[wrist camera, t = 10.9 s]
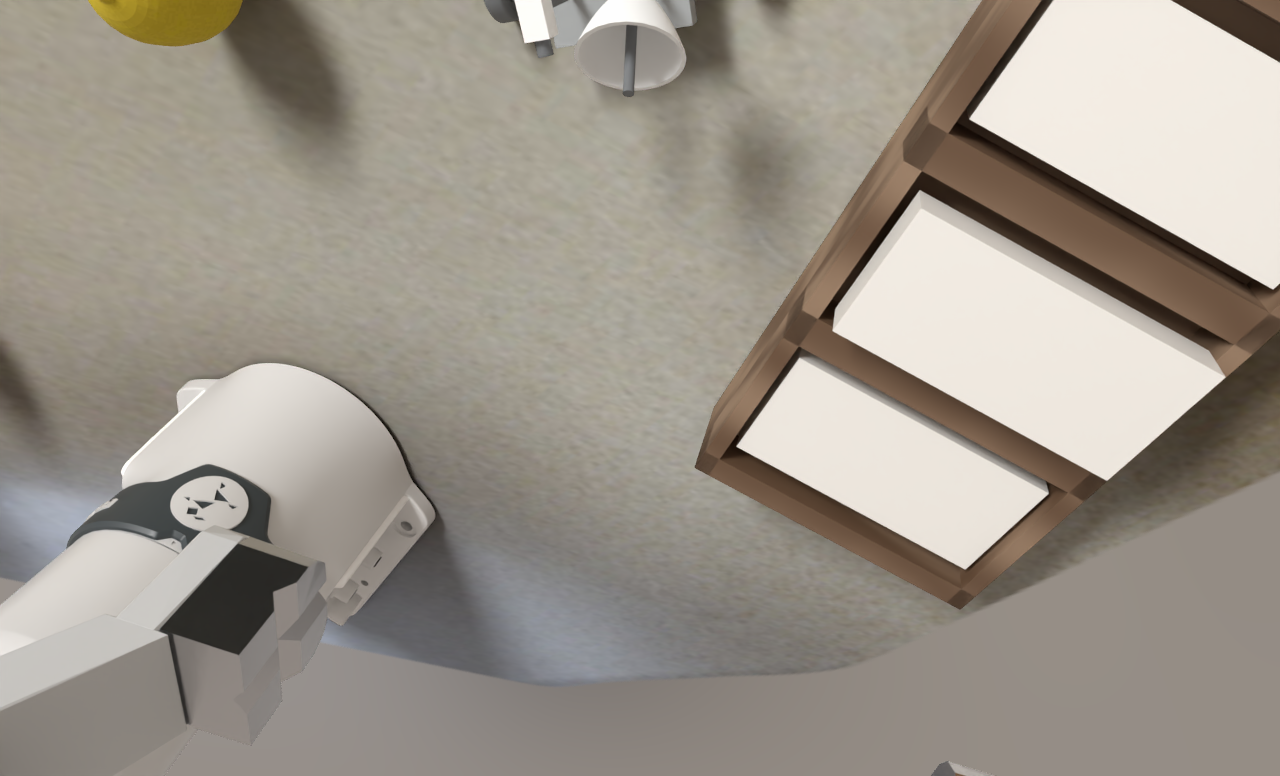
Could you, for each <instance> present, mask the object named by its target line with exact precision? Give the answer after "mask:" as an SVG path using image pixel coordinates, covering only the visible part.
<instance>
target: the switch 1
mask: <svg viewBox="0 0 1280 776" xmlns="http://www.w3.org/2000/svg"><path fill="white" fill-rule="evenodd" d="M736 447H738V448H740V449H742V450H743V451H745V452H747V453H749V454H751V455H753V456H755V457H756V458H758V459H760V460H762V461H764V462H766V463H768V464H770V465H771V466H773V467H775V468H777V469H779V470H781V471H783V472H784V473H786V474H788V475H790V476H792V477H794V478H796V479H797V480H799V481H801V482H803V483H805V484H807V485H809V486H810V487H812V488H814V489H816V490H818V491H820V492H822V493H824V494H825V495H827V496H829V497H831V498H833V499H835V500H837V501H838V502H840V503H842V504H844V505H846V506H848V507H850V508H851V509H853V510H855V511H857V512H859V513H861V514H863V515H865V516H866V517H868V518H870V519H872V520H874V521H876V522H878V523H879V524H881V525H883V526H885V527H887V528H889V529H891V530H892V531H894V532H896V533H898V534H900V535H902V536H904V537H905V538H907V539H909V540H911V541H913V542H915V543H917V544H919V545H920V546H922V547H924V548H926V549H928V550H930V551H932V552H933V553H935V554H937V555H939V556H941V557H943V558H945V559H946V560H948V561H950V562H952V563H954V564H956V565H958V566H959V567H961V568H963V569H967V568H968V567H969V566H970V565H971V564H972V563H973V562H974V561H975V560H976V559H978V558H979V557H980V556H981V555H982V554H983V553H984V552H985V551H986V550H987V549H989V548H990V547H991V546H992V545H993V544H994V543H995V542H996V541H997V540H998V539H999V538H1001V537H1002V536H1003V535H1004V534H1005V533H1006V532H1007V531H1008V530H1009V529H1010V528H1012V527H1013V526H1014V525H1015V524H1016V523H1017V522H1018V521H1019V520H1020V519H1021V518H1022V517H1024V516H1025V515H1026V514H1027V513H1028V512H1029V511H1030V510H1031V509H1032V508H1033V507H1035V506H1036V505H1037V504H1038V503H1039V502H1040V501H1041V500H1042V499H1043V498H1044V497H1045V496H1047V495H1048V494H1049V492H1048V488H1047V484H1046V481H1045V480H1044V479H1042V478H1040V477H1038V476H1036V475H1034V474H1033V473H1031V472H1029V471H1027V470H1025V469H1023V468H1021V467H1020V466H1018V465H1016V464H1014V463H1012V462H1010V461H1009V460H1007V459H1005V458H1003V457H1001V456H999V455H998V454H996V453H994V452H992V451H990V450H988V449H987V448H985V447H983V446H981V445H979V444H977V443H976V442H974V441H972V440H970V439H968V438H966V437H964V436H963V435H961V434H959V433H957V432H955V431H953V430H952V429H950V428H948V427H946V426H944V425H942V424H941V423H939V422H937V421H935V420H933V419H931V418H930V417H928V416H926V415H924V414H922V413H920V412H919V411H917V410H915V409H913V408H911V407H909V406H908V405H906V404H904V403H902V402H900V401H898V400H896V399H895V398H893V397H891V396H889V395H887V394H885V393H884V392H882V391H880V390H878V389H876V388H874V387H873V386H871V385H869V384H867V383H865V382H863V381H862V380H860V379H858V378H856V377H854V376H852V375H851V374H849V373H847V372H845V371H843V370H841V369H839V368H838V367H836V366H834V365H832V364H830V363H828V362H827V361H825V360H823V359H821V358H819V357H817V356H816V355H814V354H812V353H810V352H808V351H806V350H805V349H803V348H801V347H798V348H797V350H796V351H795V353H794V354H793V355H792V357H791V358H790V360H789V361H788V362H787V364H786V365H785V367H784V368H783V370H782V371H781V372H780V374H779V375H778V377H777V378H776V380H775V381H774V382H773V384H772V385H771V387H770V388H769V390H768V391H767V392H766V394H765V395H764V397H763V398H762V400H761V401H760V402H759V404H758V405H757V407H756V408H755V410H754V411H753V412H752V414H751V415H750V417H749V418H748V419H747V421H746V422H745V424H744V425H743V427H742V428H741V431H740V435H739V438H738V442H737V446H736Z"/></svg>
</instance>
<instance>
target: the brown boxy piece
mask: <svg viewBox="0 0 1280 776" xmlns="http://www.w3.org/2000/svg"><path fill="white" fill-rule="evenodd" d="M1171 1H1173V2H1175V3H1176V4H1178V5H1180V6H1182V7H1183V8H1185V9H1187V10H1189V11H1190V12H1192V13H1194V14H1196V15H1197V16H1199V17H1201V18H1203V19H1204V20H1206V21H1208V22H1210V23H1211V24H1213V25H1215V26H1217V27H1218V28H1220V29H1222V30H1224V31H1225V32H1227V33H1229V34H1231V35H1232V36H1234V37H1236V38H1238V39H1239V40H1241V41H1243V42H1245V43H1246V44H1248V45H1250V46H1252V47H1253V48H1255V49H1257V50H1259V51H1260V52H1262V53H1264V54H1266V55H1267V56H1269V57H1271V58H1273V59H1274V60H1276V61H1278V62H1279V63H1280V0H1171ZM1040 2H1041V0H982V2H981V3H980V5H979V6H978V8H977V9H976V11H975V12H974V14H973V15H972V17H971V18H970V20H969V21H968V23H967V24H966V26H965V27H964V29H963V30H962V32H961V33H960V35H959V36H958V38H957V39H956V41H955V43H954V44H953V46H952V47H951V49H950V50H949V52H948V53H947V55H946V56H945V58H944V59H943V61H942V62H941V64H940V65H939V67H938V68H937V70H936V71H935V73H934V74H933V76H932V77H931V79H930V80H929V82H928V83H927V85H926V87H925V88H924V90H923V91H922V93H921V94H920V96H919V97H918V99H917V100H916V102H915V103H914V105H913V106H912V108H911V109H910V111H909V112H908V114H907V115H906V117H905V118H904V120H903V121H902V123H901V124H900V126H899V128H898V129H897V131H896V132H895V134H894V135H893V137H892V138H891V140H890V141H889V143H888V144H887V146H886V147H885V149H884V150H883V152H882V153H881V155H880V156H879V158H878V159H877V161H876V162H875V164H874V165H873V167H872V168H871V170H870V172H869V173H868V175H867V176H866V178H865V179H864V181H863V182H862V184H861V185H860V187H859V188H858V190H857V191H856V193H855V194H854V196H853V197H852V199H851V200H850V202H849V203H848V205H847V206H846V208H845V209H844V211H843V212H842V214H841V216H840V217H839V219H838V220H837V222H836V223H835V225H834V226H833V228H832V229H831V231H830V232H829V234H828V235H827V237H826V238H825V240H824V241H823V243H822V244H821V246H820V247H819V249H818V250H817V252H816V253H815V255H814V256H813V258H812V260H811V261H810V263H809V264H808V266H807V267H806V269H805V270H804V272H803V273H802V275H801V276H800V278H799V279H798V281H797V282H796V284H795V285H794V287H793V288H792V290H791V291H790V293H789V294H788V296H787V297H786V299H785V300H784V302H783V304H782V305H781V307H780V308H779V310H778V311H777V313H776V314H775V316H774V317H773V319H772V320H771V322H770V323H769V325H768V326H767V328H766V329H765V331H764V332H763V334H762V335H761V337H760V338H759V340H758V341H757V343H756V344H755V346H754V348H753V349H752V351H751V352H750V354H749V355H748V357H747V358H746V360H745V361H744V363H743V364H742V366H741V367H740V369H739V370H738V372H737V373H736V375H735V376H734V378H733V379H732V381H731V382H730V384H729V385H728V387H727V388H726V390H725V392H724V393H723V395H722V396H721V398H720V399H719V401H718V402H717V404H716V405H715V407H714V409H713V412H712V415H711V418H710V421H709V424H708V427H707V430H706V434H705V437H704V440H703V443H702V446H701V449H700V452H699V455H698V458H697V461H696V465H695V468H696V469H698V470H700V471H702V472H704V473H705V474H707V475H709V476H711V477H713V478H715V479H717V480H719V481H720V482H722V483H724V484H726V485H728V486H730V487H732V488H734V489H735V490H737V491H739V492H741V493H743V494H745V495H747V496H749V497H750V498H752V499H754V500H756V501H758V502H760V503H762V504H763V505H765V506H767V507H769V508H771V509H773V510H775V511H777V512H778V513H780V514H782V515H784V516H786V517H788V518H790V519H792V520H793V521H795V522H797V523H799V524H801V525H803V526H805V527H806V528H808V529H810V530H812V531H814V532H816V533H818V534H820V535H821V536H823V537H825V538H827V539H829V540H831V541H833V542H835V543H836V544H838V545H840V546H842V547H844V548H846V549H848V550H849V551H851V552H853V553H855V554H857V555H859V556H861V557H863V558H864V559H866V560H868V561H870V562H872V563H874V564H876V565H878V566H879V567H881V568H883V569H885V570H887V571H889V572H891V573H892V574H894V575H896V576H898V577H900V578H902V579H904V580H906V581H907V582H909V583H911V584H913V585H915V586H917V587H919V588H921V589H922V590H924V591H926V592H928V593H930V594H932V595H934V596H935V597H937V598H939V599H941V600H943V601H945V602H947V603H949V604H950V605H952V606H954V607H956V608H958V609H962V608H963V607H964V606H965V605H966V604H967V603H968V602H970V601H971V600H972V599H973V598H974V597H975V596H976V595H978V594H979V593H980V592H981V591H982V590H983V589H984V588H986V587H987V586H988V585H989V584H990V583H991V582H992V581H994V580H995V579H996V578H997V577H998V576H999V575H1000V574H1002V573H1003V572H1004V571H1005V570H1006V569H1007V568H1008V567H1010V566H1011V565H1012V564H1013V563H1014V562H1015V561H1016V560H1018V559H1019V558H1020V557H1021V556H1022V555H1023V554H1024V553H1026V552H1027V551H1028V550H1029V549H1030V548H1031V547H1033V546H1034V545H1035V544H1036V543H1037V542H1038V541H1039V540H1041V539H1042V538H1043V537H1044V536H1045V535H1046V534H1047V533H1049V532H1050V531H1051V530H1052V529H1053V528H1054V527H1055V526H1057V525H1058V524H1059V523H1060V522H1061V521H1062V520H1063V519H1065V518H1066V517H1067V516H1068V515H1069V514H1070V513H1071V512H1073V511H1074V510H1075V509H1076V508H1077V507H1078V506H1079V505H1081V504H1082V503H1083V502H1084V501H1085V500H1086V499H1087V498H1089V497H1090V496H1091V495H1092V494H1093V493H1094V492H1095V491H1097V490H1098V489H1099V488H1100V487H1101V486H1102V485H1103V484H1105V483H1106V482H1107V481H1106V480H1104V479H1103V478H1101V477H1099V476H1097V475H1095V474H1093V473H1092V472H1090V471H1088V470H1086V469H1084V468H1082V467H1081V466H1079V465H1077V464H1075V463H1073V462H1071V461H1070V460H1068V459H1066V458H1064V457H1062V456H1060V455H1059V454H1057V453H1055V452H1053V451H1051V450H1049V449H1048V448H1046V447H1044V446H1042V445H1040V444H1038V443H1037V442H1035V441H1033V440H1031V439H1029V438H1027V437H1026V436H1024V435H1022V434H1020V433H1018V432H1016V431H1015V430H1013V429H1011V428H1009V427H1007V426H1006V425H1004V424H1002V423H1000V422H998V421H996V420H995V419H993V418H991V417H989V416H987V415H985V414H984V413H982V412H980V411H978V410H976V409H974V408H973V407H971V406H969V405H967V404H965V403H963V402H962V401H960V400H958V399H956V398H954V397H952V396H951V395H949V394H947V393H945V392H943V391H941V390H940V389H938V388H936V387H934V386H932V385H930V384H929V383H927V382H925V381H923V380H921V379H919V378H918V377H916V376H914V375H912V374H910V373H908V372H907V371H905V370H903V369H901V368H899V367H897V366H896V365H894V364H892V363H890V362H888V361H886V360H885V359H883V358H881V357H879V356H877V355H875V354H874V353H872V352H870V351H868V350H866V349H864V348H863V347H861V346H859V345H857V344H855V343H853V342H852V341H850V340H848V339H846V338H844V337H842V336H841V335H839V334H837V333H835V332H833V331H832V330H833V323H834V315H835V309H836V307H837V306H838V304H839V303H840V302H841V300H842V299H843V297H844V296H845V294H846V293H847V292H848V290H849V289H850V287H851V286H852V285H853V283H854V282H855V280H856V279H857V278H858V276H859V275H860V273H861V272H862V271H863V269H864V268H865V266H866V265H867V264H868V262H869V261H870V259H871V258H872V257H873V255H874V254H875V252H876V251H877V249H878V248H879V247H880V245H881V244H882V242H883V241H884V240H885V238H886V237H887V235H888V234H889V233H890V231H891V230H892V228H893V227H894V226H895V224H896V223H897V221H898V220H899V219H900V217H901V216H902V214H903V213H904V212H905V210H906V209H907V207H908V206H909V204H910V203H911V202H912V200H913V199H914V197H915V196H916V195H917V193H918V192H919V190H921V191H922V192H924V193H926V194H928V195H930V196H931V197H933V198H935V199H937V200H939V201H940V202H942V203H944V204H946V205H948V206H949V207H951V208H953V209H955V210H957V211H958V212H960V213H962V214H964V215H966V216H967V217H969V218H971V219H973V220H975V221H976V222H978V223H980V224H982V225H984V226H985V227H987V228H989V229H991V230H993V231H994V232H996V233H998V234H1000V235H1002V236H1003V237H1005V238H1007V239H1009V240H1011V241H1012V242H1014V243H1016V244H1018V245H1020V246H1021V247H1023V248H1025V249H1027V250H1029V251H1030V252H1032V253H1034V254H1036V255H1038V256H1039V257H1041V258H1043V259H1045V260H1047V261H1048V262H1050V263H1052V264H1054V265H1056V266H1057V267H1059V268H1061V269H1063V270H1065V271H1066V272H1068V273H1070V274H1072V275H1074V276H1075V277H1077V278H1079V279H1081V280H1083V281H1084V282H1086V283H1088V284H1090V285H1092V286H1093V287H1095V288H1097V289H1099V290H1101V291H1102V292H1104V293H1106V294H1108V295H1110V296H1111V297H1113V298H1115V299H1117V300H1119V301H1120V302H1122V303H1124V304H1126V305H1128V306H1130V307H1131V308H1133V309H1135V310H1137V311H1139V312H1140V313H1142V314H1144V315H1146V316H1148V317H1149V318H1151V319H1153V320H1155V321H1157V322H1158V323H1160V324H1162V325H1164V326H1166V327H1167V328H1169V329H1171V330H1173V331H1175V332H1176V333H1178V334H1180V335H1182V336H1184V337H1185V338H1187V339H1189V340H1191V341H1193V342H1194V343H1196V344H1198V345H1200V346H1202V347H1203V348H1205V349H1207V350H1209V351H1210V353H1211V355H1212V356H1213V358H1214V359H1215V361H1216V363H1217V364H1218V366H1219V367H1220V369H1221V370H1222V372H1223V374H1224V375H1225V378H1226V377H1227V376H1228V375H1229V374H1231V373H1232V372H1233V371H1234V370H1235V369H1236V368H1237V367H1239V366H1240V365H1241V364H1242V363H1243V362H1244V361H1245V360H1247V359H1248V358H1249V357H1250V356H1251V355H1252V354H1253V353H1255V352H1256V351H1257V350H1258V349H1259V348H1260V347H1262V346H1263V345H1264V344H1265V343H1266V342H1267V341H1268V340H1270V339H1271V338H1272V337H1273V336H1274V335H1275V334H1276V333H1278V332H1279V331H1280V284H1279V285H1278V286H1276V287H1275V288H1274V289H1271V288H1269V287H1268V286H1266V285H1264V284H1262V283H1260V282H1259V281H1257V280H1255V279H1253V278H1252V277H1250V276H1248V275H1246V274H1244V273H1243V272H1241V271H1239V270H1237V269H1235V268H1234V267H1232V266H1230V265H1228V264H1227V263H1225V262H1223V261H1221V260H1219V259H1218V258H1216V257H1214V256H1212V255H1211V254H1209V253H1207V252H1205V251H1203V250H1202V249H1200V248H1198V247H1196V246H1194V245H1193V244H1191V243H1189V242H1187V241H1186V240H1184V239H1182V238H1180V237H1178V236H1177V235H1175V234H1173V233H1171V232H1169V231H1168V230H1166V229H1164V228H1162V227H1161V226H1159V225H1157V224H1155V223H1153V222H1152V221H1150V220H1148V219H1146V218H1145V217H1143V216H1141V215H1139V214H1137V213H1136V212H1134V211H1132V210H1130V209H1128V208H1127V207H1125V206H1123V205H1121V204H1120V203H1118V202H1116V201H1114V200H1112V199H1111V198H1109V197H1107V196H1105V195H1103V194H1102V193H1100V192H1098V191H1096V190H1095V189H1093V188H1091V187H1089V186H1087V185H1086V184H1084V183H1082V182H1080V181H1079V180H1077V179H1075V178H1073V177H1071V176H1070V175H1068V174H1066V173H1064V172H1062V171H1061V170H1059V169H1057V168H1055V167H1054V166H1052V165H1050V164H1048V163H1046V162H1045V161H1043V160H1041V159H1039V158H1037V157H1036V156H1034V155H1032V154H1030V153H1029V152H1027V151H1025V150H1023V149H1021V148H1020V147H1018V146H1016V145H1014V144H1013V143H1011V142H1009V141H1007V140H1005V139H1004V138H1002V137H1000V136H998V135H996V134H995V133H993V132H991V131H989V130H988V129H986V128H984V127H982V126H980V125H979V124H977V123H975V122H973V121H971V120H970V119H969V117H968V113H967V110H966V107H967V106H968V105H969V103H970V102H971V100H972V99H973V97H974V96H975V95H976V93H977V92H978V90H979V89H980V87H981V86H982V85H983V83H984V82H985V80H986V79H987V77H988V76H989V75H990V73H991V72H992V70H993V69H994V67H995V66H996V65H997V63H998V62H999V60H1000V59H1001V57H1002V56H1003V55H1004V53H1005V52H1006V50H1007V49H1008V48H1009V46H1010V45H1011V43H1012V42H1013V40H1014V39H1015V38H1016V36H1017V35H1018V33H1019V32H1020V30H1021V29H1022V28H1023V26H1024V25H1025V23H1026V22H1027V20H1028V19H1029V18H1030V16H1031V15H1032V13H1033V12H1034V10H1035V9H1036V8H1037V6H1038V5H1039V3H1040ZM798 347H801V348H803V349H805V350H806V351H808V352H810V353H812V354H814V355H816V356H817V357H819V358H821V359H823V360H825V361H827V362H828V363H830V364H832V365H834V366H836V367H838V368H839V369H841V370H843V371H845V372H847V373H849V374H851V375H852V376H854V377H856V378H858V379H860V380H862V381H863V382H865V383H867V384H869V385H871V386H873V387H874V388H876V389H878V390H880V391H882V392H884V393H885V394H887V395H889V396H891V397H893V398H895V399H896V400H898V401H900V402H902V403H904V404H906V405H908V406H909V407H911V408H913V409H915V410H917V411H919V412H920V413H922V414H924V415H926V416H928V417H930V418H931V419H933V420H935V421H937V422H939V423H941V424H942V425H944V426H946V427H948V428H950V429H952V430H953V431H955V432H957V433H959V434H961V435H963V436H964V437H966V438H968V439H970V440H972V441H974V442H976V443H977V444H979V445H981V446H983V447H985V448H987V449H988V450H990V451H992V452H994V453H996V454H998V455H999V456H1001V457H1003V458H1005V459H1007V460H1009V461H1010V462H1012V463H1014V464H1016V465H1018V466H1020V467H1021V468H1023V469H1025V470H1027V471H1029V472H1031V473H1033V474H1034V475H1036V476H1038V477H1040V478H1042V479H1044V480H1045V481H1046V484H1047V488H1048V492H1049V494H1048V495H1047V496H1045V497H1044V498H1043V499H1042V500H1041V501H1040V502H1039V503H1038V504H1037V505H1036V506H1035V507H1033V508H1032V509H1031V510H1030V511H1029V512H1028V513H1027V514H1026V515H1025V516H1024V517H1022V518H1021V519H1020V520H1019V521H1018V522H1017V523H1016V524H1015V525H1014V526H1013V527H1012V528H1010V529H1009V530H1008V531H1007V532H1006V533H1005V534H1004V535H1003V536H1002V537H1001V538H999V539H998V540H997V541H996V542H995V543H994V544H993V545H992V546H991V547H990V548H989V549H987V550H986V551H985V552H984V553H983V554H982V555H981V556H980V557H979V558H978V559H976V560H975V561H974V562H973V563H972V564H971V565H970V566H969V567H968V568H967V569H963V568H961V567H959V566H958V565H956V564H954V563H952V562H950V561H948V560H946V559H945V558H943V557H941V556H939V555H937V554H935V553H933V552H932V551H930V550H928V549H926V548H924V547H922V546H920V545H919V544H917V543H915V542H913V541H911V540H909V539H907V538H905V537H904V536H902V535H900V534H898V533H896V532H894V531H892V530H891V529H889V528H887V527H885V526H883V525H881V524H879V523H878V522H876V521H874V520H872V519H870V518H868V517H866V516H865V515H863V514H861V513H859V512H857V511H855V510H853V509H851V508H850V507H848V506H846V505H844V504H842V503H840V502H838V501H837V500H835V499H833V498H831V497H829V496H827V495H825V494H824V493H822V492H820V491H818V490H816V489H814V488H812V487H810V486H809V485H807V484H805V483H803V482H801V481H799V480H797V479H796V478H794V477H792V476H790V475H788V474H786V473H784V472H783V471H781V470H779V469H777V468H775V467H773V466H771V465H770V464H768V463H766V462H764V461H762V460H760V459H758V458H756V457H755V456H753V455H751V454H749V453H747V452H745V451H743V450H742V449H740V448H738V447H736V446H737V442H738V438H739V435H740V431H741V428H742V427H743V425H744V424H745V422H746V421H747V419H748V418H749V417H750V415H751V414H752V412H753V411H754V410H755V408H756V407H757V405H758V404H759V402H760V401H761V400H762V398H763V397H764V395H765V394H766V392H767V391H768V390H769V388H770V387H771V385H772V384H773V382H774V381H775V380H776V378H777V377H778V375H779V374H780V372H781V371H782V370H783V368H784V367H785V365H786V364H787V362H788V361H789V360H790V358H791V357H792V355H793V354H794V353H795V351H796V350H797V348H798ZM1225 378H1224V379H1225ZM1224 379H1223V380H1224ZM1223 380H1222V381H1223ZM1217 385H1218V384H1217ZM1217 385H1216V386H1217ZM1216 386H1215V387H1216ZM1215 387H1214V388H1215ZM1209 392H1210V391H1209ZM1209 392H1208V393H1209ZM1208 393H1207V394H1208ZM1207 394H1206V395H1207ZM1201 399H1202V398H1201ZM1201 399H1200V400H1201ZM1200 400H1199V401H1200ZM1199 401H1198V402H1199ZM1193 406H1194V405H1193ZM1193 406H1192V407H1193ZM1192 407H1191V408H1192ZM1191 408H1190V409H1191ZM1186 412H1187V411H1186ZM1186 412H1185V413H1186ZM1185 413H1184V414H1185ZM1184 414H1183V415H1184ZM1183 415H1182V416H1183ZM1178 419H1179V418H1178ZM1178 419H1177V420H1178ZM1177 420H1176V421H1177ZM1176 421H1175V422H1176ZM1170 426H1171V425H1170ZM1170 426H1169V427H1170ZM1169 427H1168V428H1169ZM1168 428H1167V429H1168ZM1162 433H1163V432H1162ZM1162 433H1161V434H1162ZM1161 434H1160V435H1161ZM1160 435H1159V436H1160ZM1154 440H1155V439H1154ZM1154 440H1153V441H1154ZM1153 441H1152V442H1153ZM1152 442H1151V443H1152ZM1146 447H1147V446H1146ZM1146 447H1145V448H1146ZM1145 448H1144V449H1145ZM1144 449H1143V450H1144ZM1138 454H1139V453H1138ZM1138 454H1137V455H1138ZM1137 455H1136V456H1137ZM1136 456H1135V457H1136ZM1130 461H1131V460H1130ZM1130 461H1129V462H1130ZM1129 462H1128V463H1129ZM1128 463H1127V464H1128ZM1122 468H1123V467H1122ZM1122 468H1121V469H1122ZM1121 469H1120V470H1121ZM1120 470H1119V471H1120ZM1114 475H1115V474H1114ZM1114 475H1113V476H1114ZM1113 476H1112V477H1113ZM1112 477H1111V478H1112Z"/></svg>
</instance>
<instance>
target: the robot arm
mask: <svg viewBox="0 0 1280 776" xmlns="http://www.w3.org/2000/svg"><path fill="white" fill-rule="evenodd" d="M177 405H178V412H179V413H178V414H177V415H176V416H175V417H174V418H173V419H172V420H171V421H170V422H168V423H167V424H166V425H165V426H164V427H163V428H162V429H161V430H160V431H159V432H158V433H157V434H156V435H155V436H153V437H152V438H151V439H150V440H149V441H148V442H147V443H146V444H145V445H144V446H143V447H142V448H141V449H140V450H139V451H138V452H137V453H136V454H134V455H133V456H132V457H131V458H130V459H129V460H128V461H127V462H126V464H125V465H124V466H123V468H122V471H121V474H122V476H123V478H122V488H123V490H122V491H121V492H119V493H118V494H117V495H116V496H115V497H113V498H112V499H111V500H110V501H107V502H106V503H105V504H102V505H101V506H100V507H99V508H97V509H96V510H95V511H94V512H93V513H92V514H91V515H89V517H88V518H87V519H86V521H85V522H84V523H83V524H82V525H81V526H80V527H79V528H78V529H77V530H76V531H75V532H74V533H73V534H72V535H71V537H70V539H69V541H68V544H67V548H66V550H65V551H63V552H62V553H61V554H60V555H59V556H58V557H56V558H55V559H54V560H53V561H52V562H50V563H49V564H48V565H47V566H46V567H45V568H43V569H42V570H41V571H40V572H39V573H37V574H36V575H35V576H34V577H33V578H31V579H30V580H29V581H28V582H27V583H26V584H24V585H23V586H22V587H21V588H20V589H18V590H17V591H16V592H15V593H14V594H12V595H11V596H10V597H9V598H8V599H7V600H5V601H4V602H3V603H2V604H1V605H0V776H165V775H166V773H167V772H168V771H169V769H170V768H171V766H172V765H173V764H174V762H175V761H176V759H177V758H178V757H179V755H180V754H181V752H182V751H183V750H184V748H185V747H186V746H187V744H188V743H189V742H190V740H191V739H192V737H193V736H194V735H195V733H196V732H197V731H198V730H202V731H205V732H208V733H211V734H215V735H218V736H221V737H225V738H228V739H231V740H234V741H237V742H240V743H244V744H247V745H250V746H251V745H252V744H253V742H254V741H255V739H256V738H257V736H258V735H259V734H260V732H261V731H262V729H263V728H264V726H265V725H266V723H267V722H268V721H269V719H270V718H271V716H272V715H273V713H274V712H275V711H276V709H277V708H278V706H279V705H280V703H281V702H282V691H281V682H283V681H285V680H287V679H289V678H291V677H293V676H295V675H297V674H299V673H301V672H302V671H303V670H304V668H305V666H306V665H307V664H308V662H309V661H310V659H311V658H312V656H313V655H314V653H315V651H316V649H317V647H318V644H319V642H320V640H321V638H322V635H323V633H324V630H325V625H326V621H327V618H329V619H330V620H331V621H333V622H335V623H336V624H338V625H339V626H340V625H342V626H343V625H344V623H345V622H346V621H347V619H348V618H349V616H353V615H355V614H356V613H357V612H358V611H359V610H360V608H361V607H362V606H363V605H364V604H365V603H366V602H367V600H368V599H369V598H370V597H371V596H372V594H373V593H374V592H375V591H376V590H377V588H378V587H379V586H380V585H381V584H382V582H383V581H384V580H385V579H386V578H387V576H388V575H389V574H390V573H391V572H392V570H393V569H394V568H395V567H396V566H397V564H398V563H399V562H400V561H401V560H402V558H403V557H404V556H405V555H406V554H407V552H408V551H409V550H410V549H411V548H412V546H413V545H414V544H415V543H416V542H417V540H418V539H419V538H420V537H421V536H422V534H423V533H424V532H425V531H426V530H427V528H428V527H429V526H430V525H431V524H432V522H433V521H434V519H435V511H434V509H433V507H432V505H431V504H430V502H429V501H428V500H427V498H426V497H425V496H424V494H423V493H422V492H421V491H420V490H419V488H418V487H417V486H416V485H415V484H414V483H413V481H412V479H411V477H410V475H409V473H408V471H407V468H406V465H405V463H404V460H403V457H402V455H401V453H400V450H399V448H398V447H397V445H396V443H395V441H394V439H393V438H392V436H391V435H390V433H389V432H388V430H387V429H386V428H385V426H384V425H383V424H382V422H381V421H380V420H379V419H378V418H377V417H376V415H375V414H374V413H373V412H372V411H371V410H370V409H369V408H368V407H367V406H365V405H364V404H363V403H362V402H361V401H360V400H359V399H357V398H356V397H355V396H354V395H352V394H351V393H350V392H348V391H347V390H345V389H344V388H342V387H341V386H339V385H338V384H336V383H334V382H332V381H331V380H329V379H327V378H325V377H323V376H321V375H318V374H316V373H314V372H311V371H308V370H306V369H302V368H299V367H295V366H291V365H285V364H277V363H261V364H254V365H250V366H247V367H244V368H241V369H239V370H237V371H235V372H234V373H232V374H230V375H228V376H227V377H224V378H222V379H196V380H191V381H189V382H187V383H186V384H185V385H184V386H183V387H182V388H181V389H180V390H179V391H178V393H177ZM931 776H995V775H992V774H988V773H985V772H982V771H978V770H975V769H971V768H968V767H965V766H961V765H959V764H955V763H952V762H949V761H947V762H944V763H941V764H939V766H938V767H937V768H936V770H935V771H934V772H933V774H932V775H931Z"/></svg>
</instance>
